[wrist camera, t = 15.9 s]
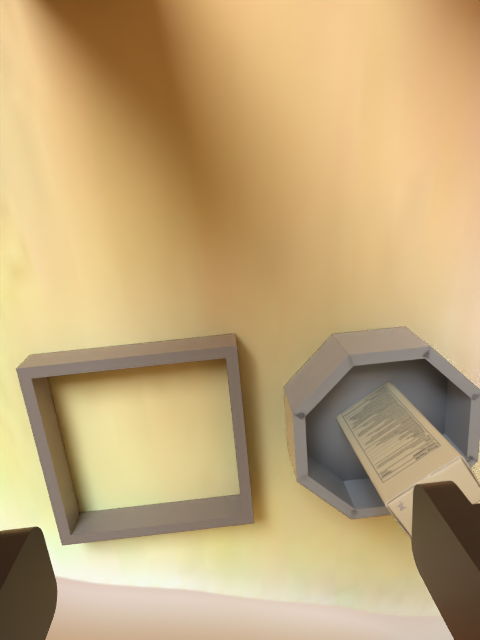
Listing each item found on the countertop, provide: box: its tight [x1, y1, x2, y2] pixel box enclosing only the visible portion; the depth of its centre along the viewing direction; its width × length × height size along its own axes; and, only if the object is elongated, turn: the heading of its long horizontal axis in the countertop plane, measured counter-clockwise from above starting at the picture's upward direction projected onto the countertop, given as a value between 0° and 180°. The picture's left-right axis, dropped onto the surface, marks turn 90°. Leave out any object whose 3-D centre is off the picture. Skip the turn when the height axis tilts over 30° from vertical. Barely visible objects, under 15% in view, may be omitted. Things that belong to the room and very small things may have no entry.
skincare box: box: [336, 382, 480, 538], centre depth 37 cm, size 6×4×12 cm
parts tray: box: [16, 334, 254, 545], centre depth 41 cm, size 18×18×3 cm
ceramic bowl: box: [284, 327, 480, 519], centre depth 41 cm, size 16×16×5 cm
